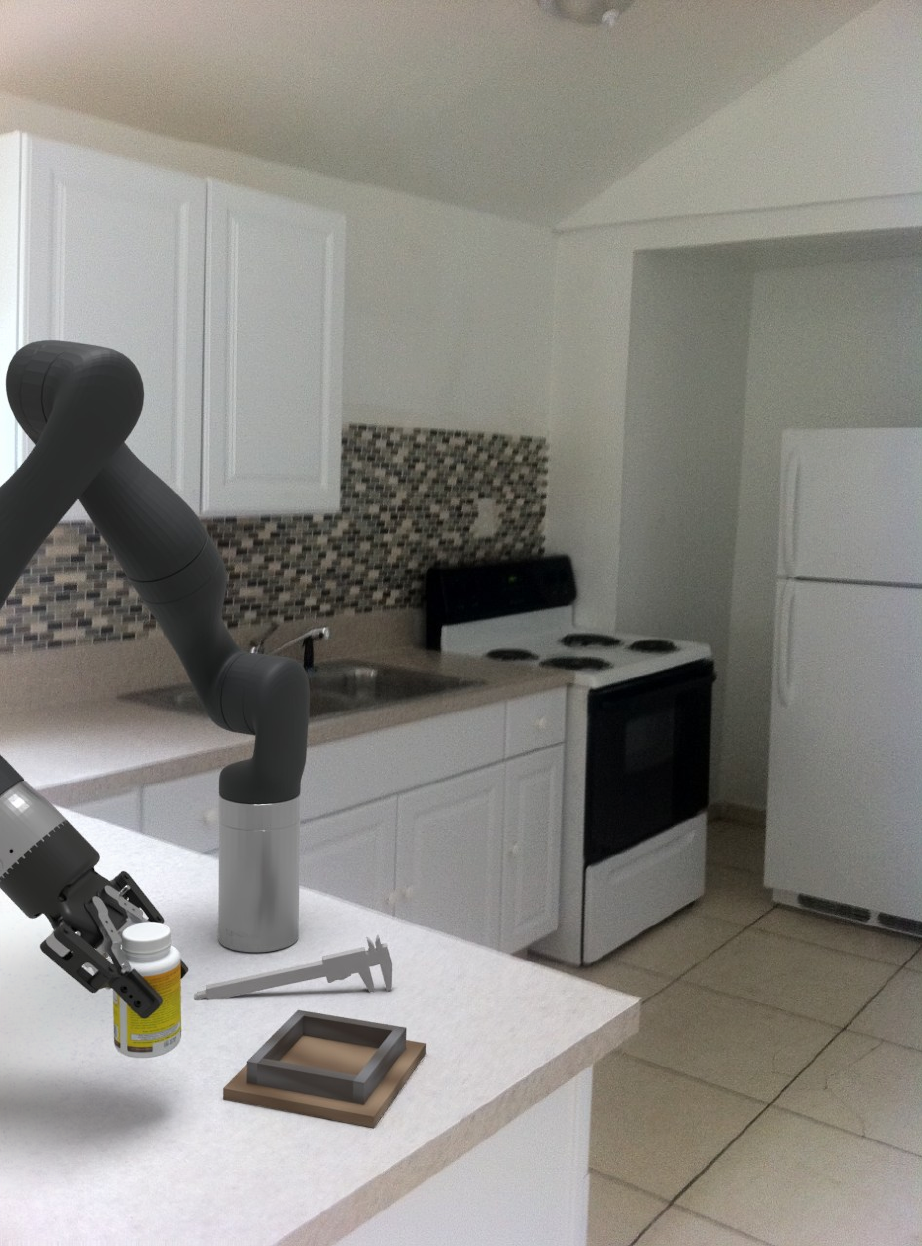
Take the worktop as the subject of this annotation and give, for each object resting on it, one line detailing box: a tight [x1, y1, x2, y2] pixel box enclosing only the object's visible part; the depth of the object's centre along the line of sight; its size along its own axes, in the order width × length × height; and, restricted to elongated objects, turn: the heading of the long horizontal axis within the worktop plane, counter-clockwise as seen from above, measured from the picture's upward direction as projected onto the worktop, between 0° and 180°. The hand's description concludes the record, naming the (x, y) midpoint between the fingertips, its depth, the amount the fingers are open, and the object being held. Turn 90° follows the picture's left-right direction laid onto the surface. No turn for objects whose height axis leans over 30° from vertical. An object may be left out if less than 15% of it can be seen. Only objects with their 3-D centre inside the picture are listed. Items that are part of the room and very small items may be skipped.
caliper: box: [193, 934, 393, 1001], centre depth 130 cm, size 20×1×6 cm, turn 100°
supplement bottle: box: [112, 922, 182, 1059], centre depth 105 cm, size 6×6×10 cm
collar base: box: [222, 1009, 427, 1129], centre depth 113 cm, size 14×14×3 cm
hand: (167, 993), depth 105 cm, fingers closed on supplement bottle, 5 cm apart
